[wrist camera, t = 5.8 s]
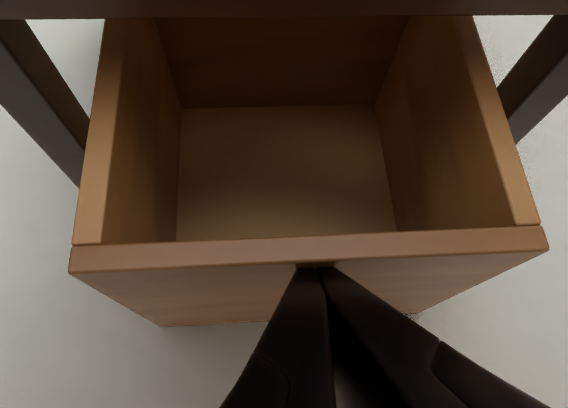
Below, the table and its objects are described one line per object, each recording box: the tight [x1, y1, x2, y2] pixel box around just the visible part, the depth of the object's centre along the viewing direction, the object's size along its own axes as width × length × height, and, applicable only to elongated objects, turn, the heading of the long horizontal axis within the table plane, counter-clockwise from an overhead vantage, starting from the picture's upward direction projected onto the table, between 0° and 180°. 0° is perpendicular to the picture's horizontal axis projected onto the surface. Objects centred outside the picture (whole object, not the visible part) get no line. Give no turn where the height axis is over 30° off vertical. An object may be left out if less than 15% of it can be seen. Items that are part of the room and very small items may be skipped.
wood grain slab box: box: [68, 16, 549, 327], centre depth 14 cm, size 10×10×8 cm
